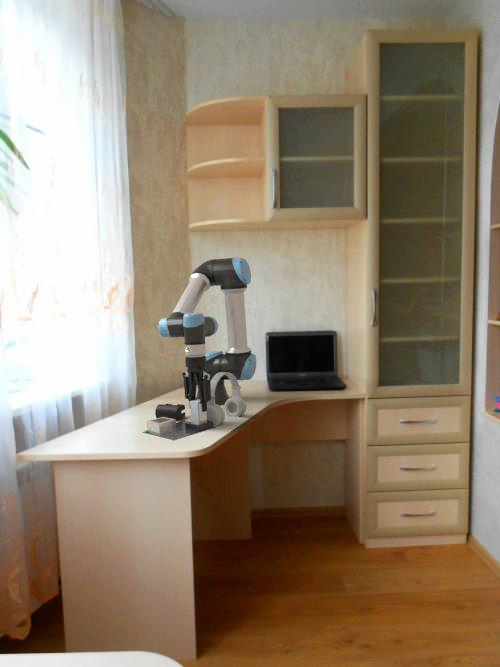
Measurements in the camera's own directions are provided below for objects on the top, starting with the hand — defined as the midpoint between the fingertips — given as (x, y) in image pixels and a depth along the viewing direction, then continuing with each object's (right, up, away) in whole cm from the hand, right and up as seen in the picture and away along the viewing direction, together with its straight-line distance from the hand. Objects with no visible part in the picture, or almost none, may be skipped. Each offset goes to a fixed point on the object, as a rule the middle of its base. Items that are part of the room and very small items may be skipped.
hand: (198, 419), depth 188 cm
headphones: (+9, -3, +11) cm, 15 cm away
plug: (0, -3, 0) cm, 3 cm away
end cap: (-13, -4, +16) cm, 21 cm away
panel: (-7, -5, -1) cm, 8 cm away
